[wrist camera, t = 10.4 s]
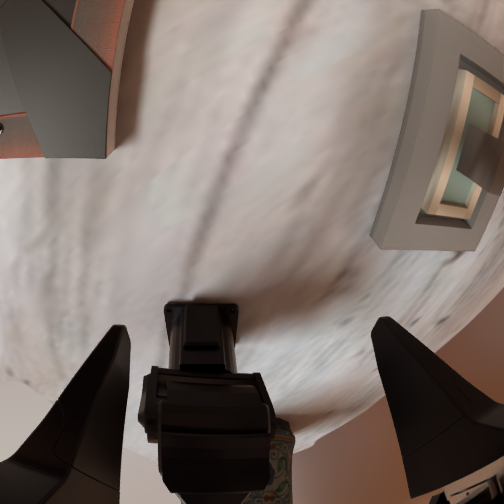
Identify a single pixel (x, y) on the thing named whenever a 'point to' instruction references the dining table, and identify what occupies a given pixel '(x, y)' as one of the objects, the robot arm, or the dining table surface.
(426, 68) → the grey flat frame
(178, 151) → the dining table surface
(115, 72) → the picture frame
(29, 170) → the dining table surface
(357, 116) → the dining table surface
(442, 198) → the picture frame
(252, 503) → the beer stein
